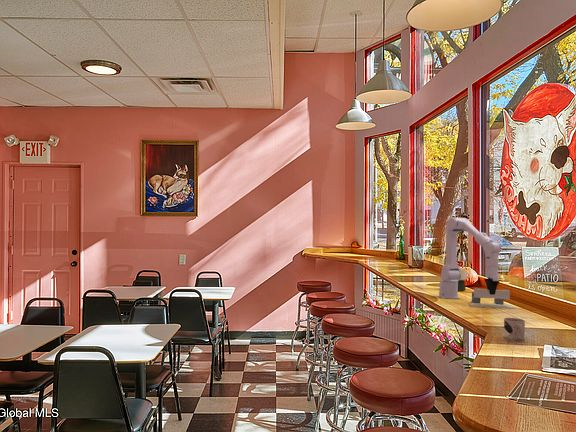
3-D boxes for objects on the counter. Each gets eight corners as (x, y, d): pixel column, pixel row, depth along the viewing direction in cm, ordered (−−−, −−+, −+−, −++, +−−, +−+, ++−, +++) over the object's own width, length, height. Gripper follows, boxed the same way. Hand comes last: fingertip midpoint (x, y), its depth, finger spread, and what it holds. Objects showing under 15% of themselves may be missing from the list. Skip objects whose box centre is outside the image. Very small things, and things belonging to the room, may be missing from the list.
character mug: (468, 290, 284) (468, 268, 284) (470, 291, 277) (471, 270, 277) (449, 289, 286) (450, 268, 286) (451, 291, 279) (452, 269, 279)
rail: (475, 297, 230) (475, 289, 230) (473, 296, 233) (473, 288, 233) (509, 299, 227) (509, 291, 227) (507, 298, 230) (508, 290, 230)
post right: (497, 305, 234) (497, 295, 234) (494, 303, 240) (494, 293, 240) (503, 305, 234) (503, 295, 234) (500, 303, 239) (500, 293, 240)
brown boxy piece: (474, 303, 236) (474, 293, 236) (471, 301, 242) (471, 292, 242) (480, 304, 236) (480, 294, 236) (477, 302, 242) (478, 292, 242)
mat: (471, 306, 228) (471, 305, 228) (468, 304, 235) (468, 302, 235) (514, 308, 225) (515, 307, 225) (510, 306, 232) (510, 305, 232)
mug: (500, 335, 170) (501, 317, 170) (519, 336, 170) (519, 318, 170) (513, 342, 160) (513, 323, 160) (532, 343, 160) (533, 324, 160)
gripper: (504, 268, 222) (504, 296, 222) (496, 265, 237) (496, 292, 236) (488, 267, 224) (488, 295, 223) (482, 264, 238) (481, 291, 238)
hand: (491, 293), depth 230 cm, fingers closed on rail, 3 cm apart
